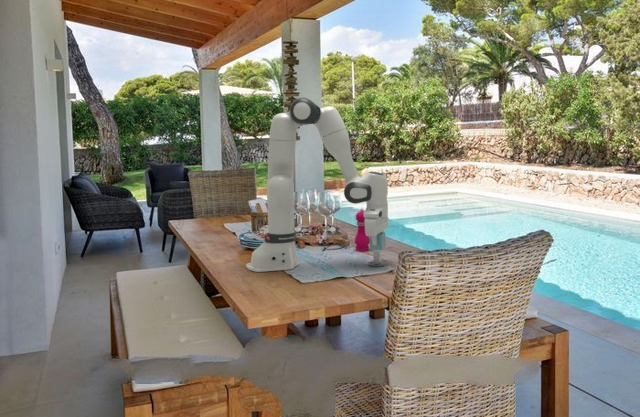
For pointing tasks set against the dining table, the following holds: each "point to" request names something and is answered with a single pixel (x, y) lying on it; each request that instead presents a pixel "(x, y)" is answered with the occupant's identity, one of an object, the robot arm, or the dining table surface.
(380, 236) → the teal rectangular block
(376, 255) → the grey round stand
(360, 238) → the pepper mill
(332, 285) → the dining table surface
